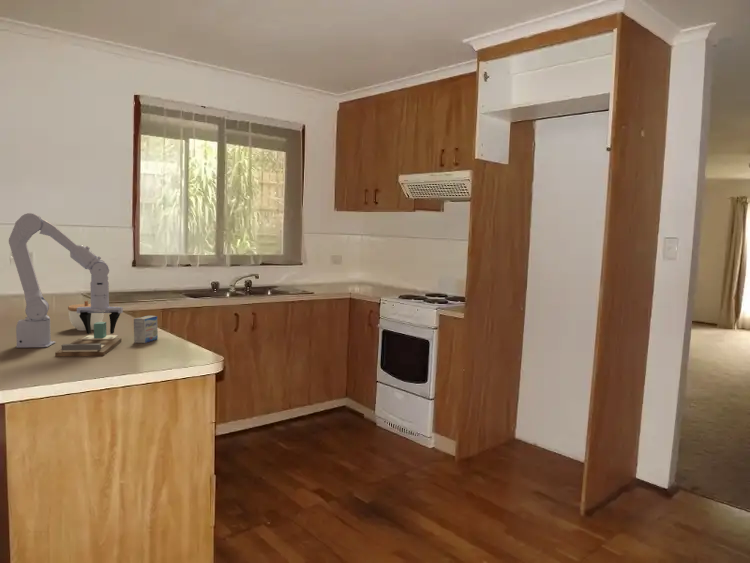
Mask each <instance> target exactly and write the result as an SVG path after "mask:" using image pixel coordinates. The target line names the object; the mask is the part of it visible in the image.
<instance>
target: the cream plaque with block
mask: <svg viewBox="0 0 750 563" xmlns="http://www.w3.org/2000/svg"><path fill="white" fill-rule="evenodd" d="M118 337H119V335H118V334H114V335H113V334H107V321H102V322H96V323H95V324H94V330H93V334H87V335H86V336H84V337H82V338H81V339H82V340H113V339H115V338H118Z"/></svg>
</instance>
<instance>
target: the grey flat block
mask: <svg viewBox="0 0 750 563" xmlns="http://www.w3.org/2000/svg"><path fill="white" fill-rule="evenodd" d="M104 346H105V344H71V343H63V344H62V345H61V349H62V350H63V352H95V351H99V350H100V349H101V348H103V347H104Z"/></svg>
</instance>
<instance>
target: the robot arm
mask: <svg viewBox="0 0 750 563" xmlns="http://www.w3.org/2000/svg"><path fill="white" fill-rule="evenodd" d="M38 232H39V234H40V235H44V236H48V237H50V238H52V239H53V240H54V241H55V242H57V243H58V244H59V245H61V247H63V248H65V249H66V250H68V252H69V256H70V258H71V259H72V260H73V261H75V262H76V263H77V264H78V265H80V266H81V267H82V268H84V270H89V272H90V274H91V277H90V280H91V281H90V283H89V284H90V304H91V307H78V308H77V313H80V315H79V316H80V318H81V320H82V322H83V324H84V326H85V329H86V330H85V332H86V334H87V335H91V333H92V330H91V325H90V321H91V313H104V314H109V317H108V318H109V327H110V328H109V332H110V333H109V335H113V334H114V333H115V329H116V324H117V322H118V320H119V318H120V316H121V314H122V313H124V310H123V309H124V307H123V306H110V291H109V290H110V288H109V287H110V285H109V276H108V274H109V273H110V269H109V265H108V264H107V263H106V262H105V261H104V260H102V257H100V256H98V255H96V254H95V253H93V252H92V250H90V247H89V246H87V245H86V246H85V245H83V244H76V243H75V242H74V241H73V240H71V239H70V238H69V237H68V236H66V234H65V233H63V232H62V231H61V229H58V228H57V226H55V225H54V224H52V223H50V222H49V221H47V220H46V219H43V218H42V217H41V216H40V215H38V214H36V213H31V212H29V213H24V214H23V215H21V216H20V217H19V218H18V219H17V220H16V221H15V223H14V227H13V228H12V231H11V233H10V235H9V238H8V244H9V248H10V251H11V254H12V257H13V261H14V264H15V267H16V271H17V274H18V277H19V280H20V282H21V287H22V290H23V293H24V300H25V304H26V306H25V311H24V312H25V314H26V317H25V318H24V319H19V320H18V321H17V323H16V328H15V331H16V332H15V333H16V336H15V337H16V346H15V348H19V349H20V348H48V347H50V346H51V345H54V344H55V343H56V341H54V340H52V336H51V333H52V332H51V317H50V316H49V315H48V312H49V310H50V304H49V303H48V301H47V300H46V299H45V298H44V296H43V293H42V291H41V289H40V284H39V282H38V279H37V278H38V277H37V274H36V272H35V268H34V264H33V260H32V257H31V255H30V252H29V248H28V245H27V244H28V242H29V241H30V239H31V238H32V237H33V235H35V234H36V233H38Z"/></svg>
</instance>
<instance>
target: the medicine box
mask: <svg viewBox="0 0 750 563" xmlns="http://www.w3.org/2000/svg"><path fill="white" fill-rule="evenodd" d="M158 338H159V337H158V316H156V315H145V316H141V317H136V318H133V342H134V343H136V344H147V342H148V343H150V341H151V342H153V340H154V341H156V340H158Z"/></svg>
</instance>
